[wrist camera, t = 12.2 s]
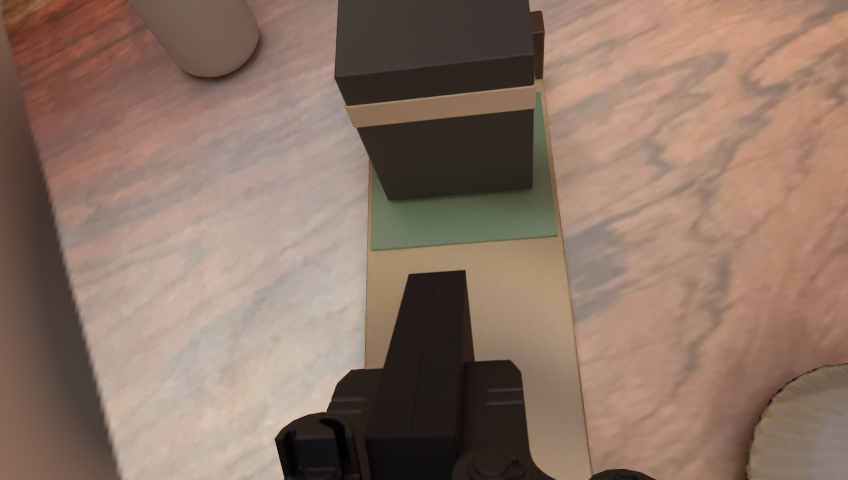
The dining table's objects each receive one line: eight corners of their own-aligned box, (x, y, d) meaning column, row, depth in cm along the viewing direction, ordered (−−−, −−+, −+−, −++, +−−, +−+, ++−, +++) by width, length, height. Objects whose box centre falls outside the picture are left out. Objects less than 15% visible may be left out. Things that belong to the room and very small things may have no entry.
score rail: (649, 958, 16) (684, 1081, 13) (360, 937, 18) (317, 1046, 14) (540, 72, 29) (542, 9, 25) (375, 91, 30) (354, 33, 26)
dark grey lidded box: (534, 189, 25) (537, 55, 18) (386, 202, 26) (331, 79, 18) (525, 106, 26) (524, -47, 19) (387, 121, 27) (337, -21, 20)
